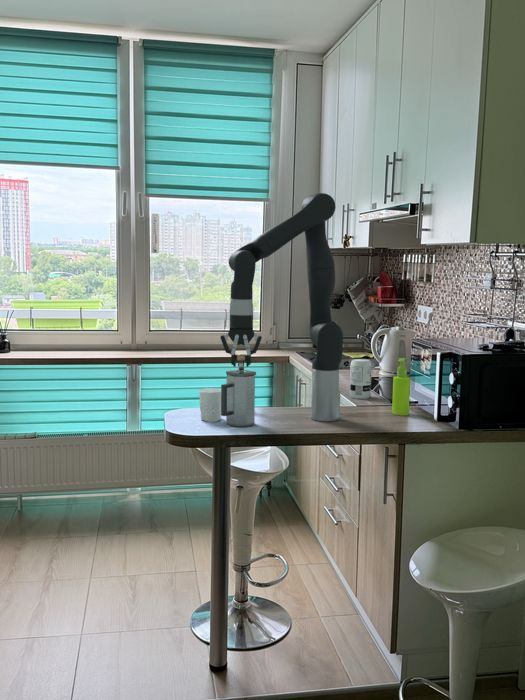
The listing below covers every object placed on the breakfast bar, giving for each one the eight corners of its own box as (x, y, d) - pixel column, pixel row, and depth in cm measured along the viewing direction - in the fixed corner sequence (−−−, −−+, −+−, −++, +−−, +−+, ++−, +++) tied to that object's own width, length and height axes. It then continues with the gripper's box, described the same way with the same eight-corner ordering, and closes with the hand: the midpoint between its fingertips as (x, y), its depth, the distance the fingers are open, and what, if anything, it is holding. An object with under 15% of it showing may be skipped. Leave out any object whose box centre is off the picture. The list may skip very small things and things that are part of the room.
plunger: (240, 413, 221) (241, 353, 218) (248, 415, 218) (249, 354, 216) (232, 415, 218) (233, 354, 216) (240, 417, 216) (240, 355, 213)
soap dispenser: (389, 415, 235) (392, 359, 232) (393, 411, 241) (395, 356, 239) (406, 416, 233) (408, 360, 230) (410, 412, 239) (412, 357, 237)
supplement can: (347, 395, 270) (348, 358, 268) (367, 395, 271) (368, 358, 269) (352, 399, 262) (353, 361, 260) (372, 399, 263) (374, 361, 261)
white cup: (219, 422, 221) (219, 393, 219) (196, 421, 222) (196, 391, 221) (225, 417, 228) (225, 388, 227) (203, 416, 230) (203, 387, 229)
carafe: (243, 419, 226) (244, 368, 224) (262, 424, 219) (263, 371, 217) (213, 425, 217) (213, 372, 214) (232, 430, 210) (232, 375, 208)
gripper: (263, 312, 218) (262, 365, 220) (220, 312, 218) (220, 364, 220) (263, 314, 210) (262, 368, 212) (218, 313, 210) (218, 367, 213)
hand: (240, 366), depth 216 cm, fingers closed on plunger, 3 cm apart
